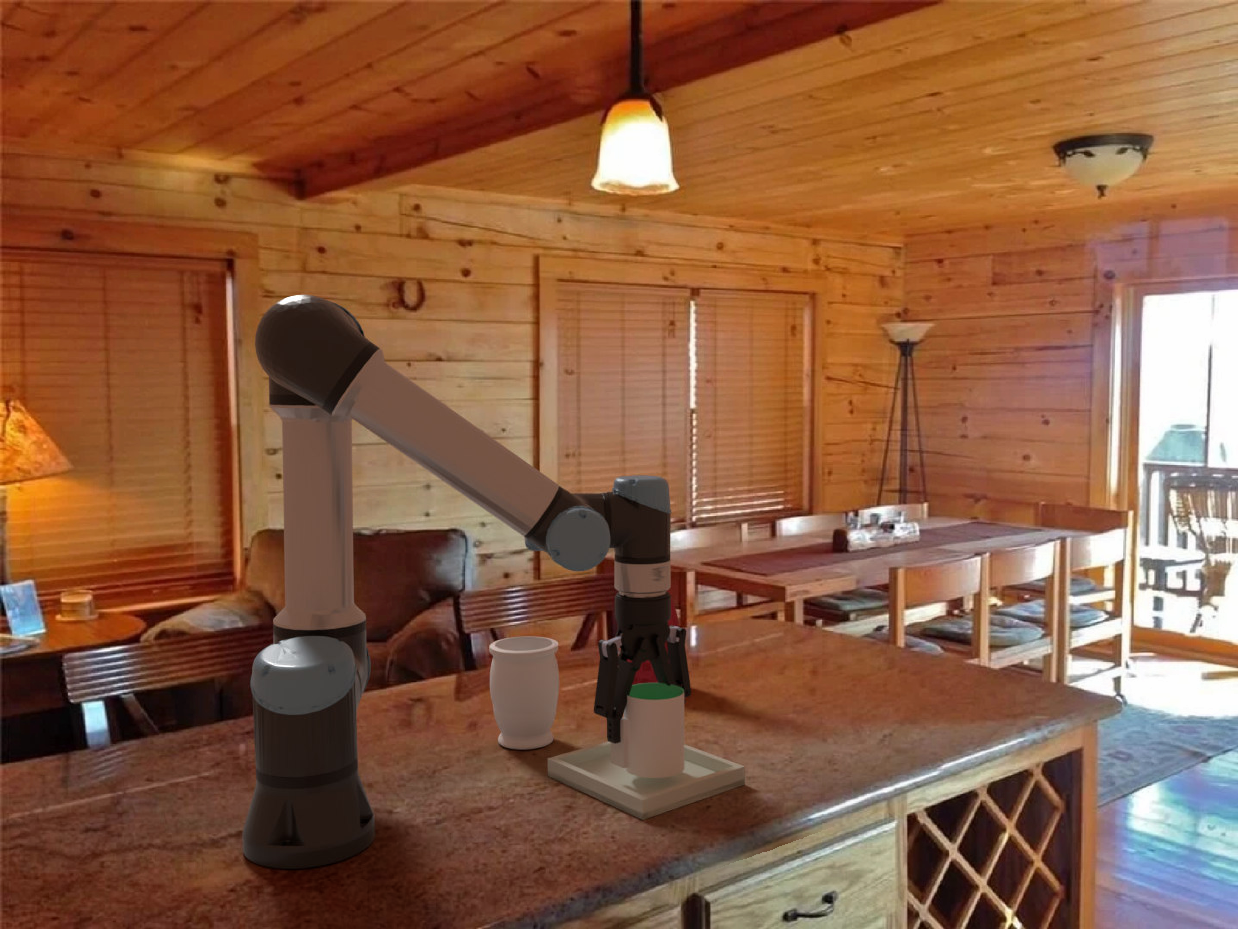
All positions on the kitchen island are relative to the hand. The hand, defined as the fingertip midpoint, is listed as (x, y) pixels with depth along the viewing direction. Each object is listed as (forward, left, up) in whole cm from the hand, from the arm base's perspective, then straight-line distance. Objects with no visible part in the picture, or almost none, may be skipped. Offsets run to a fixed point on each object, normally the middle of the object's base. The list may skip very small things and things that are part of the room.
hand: (644, 757), depth 151 cm
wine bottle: (+30, +33, -3) cm, 45 cm away
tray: (0, 0, -3) cm, 3 cm away
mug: (0, 0, -1) cm, 1 cm away
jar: (-3, +24, -3) cm, 24 cm away
